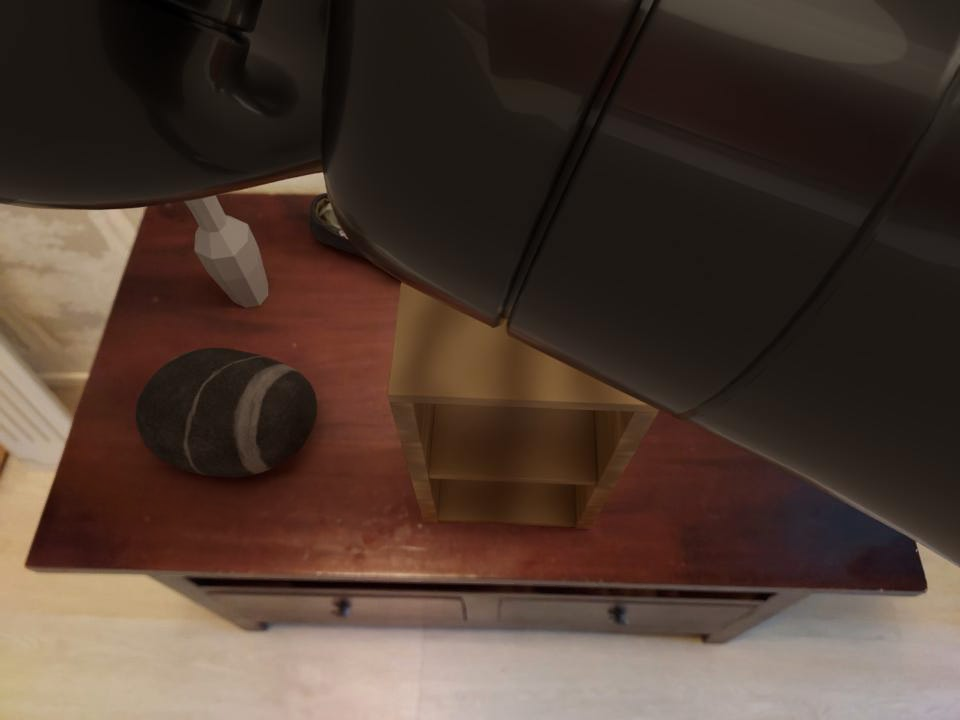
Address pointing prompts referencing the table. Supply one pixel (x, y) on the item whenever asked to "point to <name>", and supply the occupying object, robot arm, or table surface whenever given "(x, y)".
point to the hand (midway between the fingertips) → (634, 166)
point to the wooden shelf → (503, 423)
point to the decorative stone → (225, 412)
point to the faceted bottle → (229, 253)
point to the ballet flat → (329, 226)
